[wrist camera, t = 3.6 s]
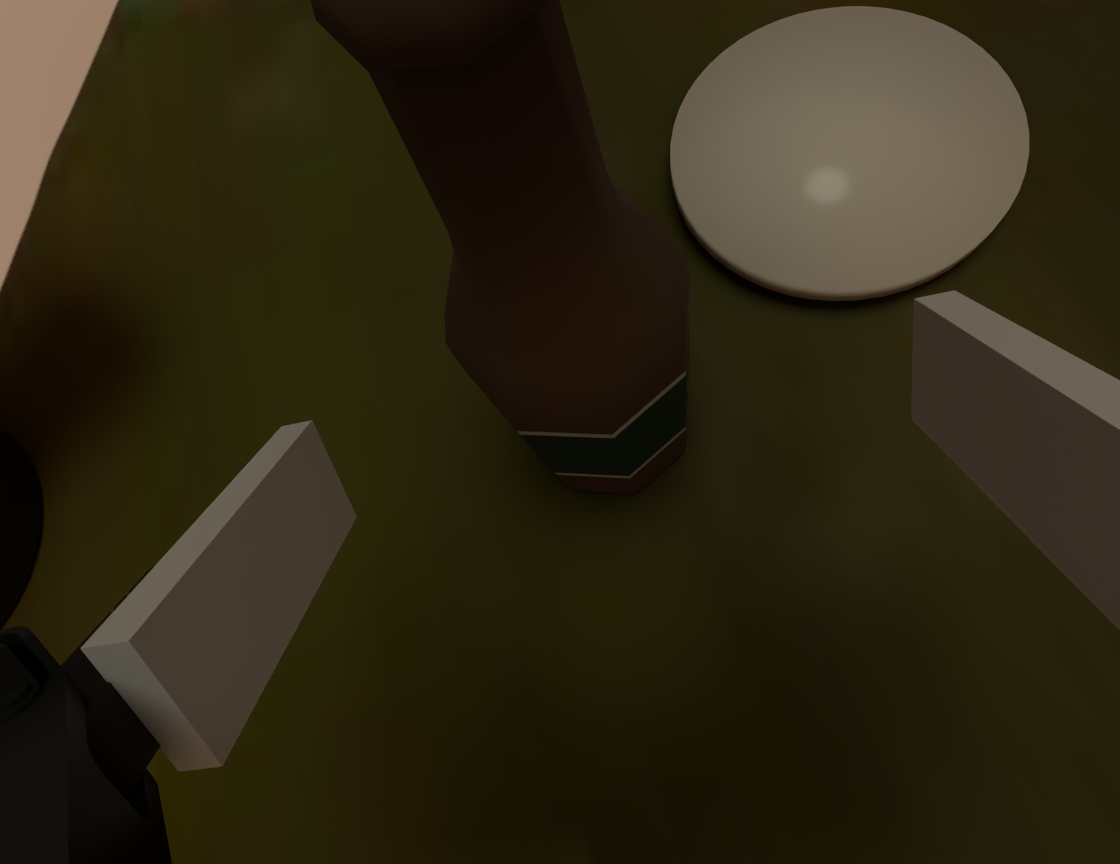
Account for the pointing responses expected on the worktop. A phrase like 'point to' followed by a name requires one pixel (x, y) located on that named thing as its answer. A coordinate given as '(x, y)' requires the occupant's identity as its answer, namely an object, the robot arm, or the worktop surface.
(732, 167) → the dish
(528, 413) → the beer bottle
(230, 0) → the worktop surface
